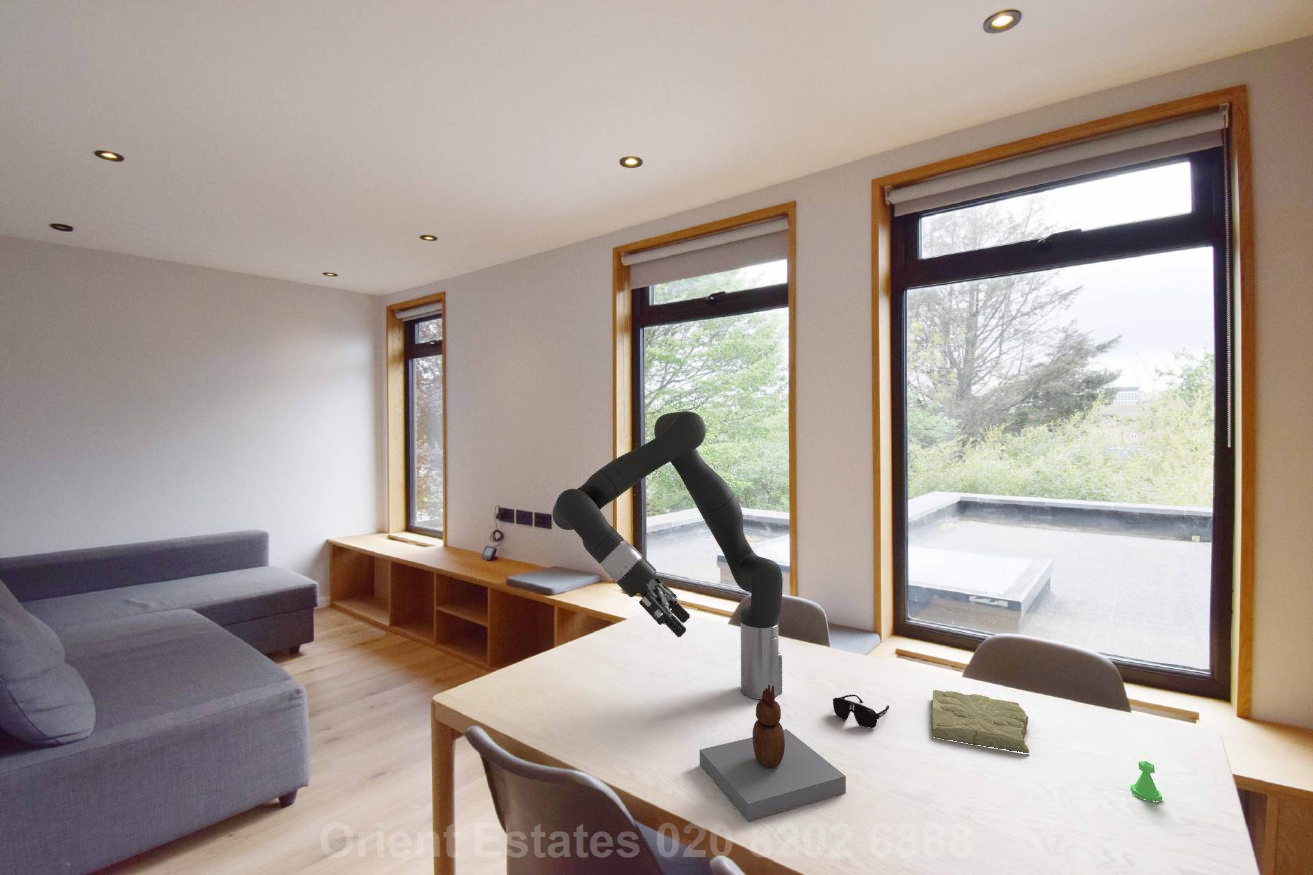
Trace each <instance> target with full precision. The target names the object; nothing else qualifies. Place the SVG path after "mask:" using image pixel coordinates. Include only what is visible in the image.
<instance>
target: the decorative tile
mask: <svg viewBox="0 0 1313 875" xmlns="http://www.w3.org/2000/svg"><path fill="white" fill-rule="evenodd" d="M931 712H932V714H931V715H932V735H933V736H934V737H935V738H934V737H933V738H934V739H936V738H941V739H944V740H943V741H946V740H953V741H957V742H963V743H968V744H973V745H972V746H974V745H981V746H986V747H994V748H998V749H1006V750H1009V751H1017V752H1018V751H1019V752H1023V753H1029V754H1030V748H1029V747H1028V744H1026V743H1025V740H1024V738H1025V739H1026V734H1025V733H1026V732H1027V733H1028V731H1027V727H1028V725H1029V724H1028V723H1029V716H1028V715H1027V714H1026V711H1025V710H1024V709H1023V708H1022V707H1021V706H1020V703H1018V702H1015V701H1008V700H1003V699H994V698H990V697H989V696H986V695H981V694H977V693H972V694H965V693H962V692H958V691H952V690H946V691H943V690H939V689H933V691H932V711H931ZM941 739H940V740H941ZM957 742H956V743H957ZM963 743H962V744H963ZM968 744H967V745H968Z"/></svg>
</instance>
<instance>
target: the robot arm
mask: <svg viewBox="0 0 1313 875" xmlns="http://www.w3.org/2000/svg"><path fill="white" fill-rule="evenodd" d="M653 431H654V438H653V439H651V440H650V441H648V442H646V443H645V444H643V445H640V446H639V447H637V448H635V449H633V450H630V451H628V452H627V453H624V454H621V455H620V456H618V457H616V458H615V459H612V460H611V461H610V462H608V463H607V464H606V465H604V466H603V467H601V468H600V469H598V470H597V471H595V472H594V473H593V474H592V475H590V476H589V478H588V479H587V480H586V481H585V482H584V483H583V484H582V485H581V486H578V488H568V489H566V490H564V491H562V492H561V493H560V494H559V495H558V497H557V499H556V501H555V503H554V506H553V507H552V508H553V509H552V520H553V523H554V524H555V525H556V526H557V527H558V528H560V529H562V530H564V531H572V530H573V531H575V533H576V534H577V535H578V536H579V537H580V539H581V541H582V545H583V547H584V548H585V550H586V551H587V552H588V554H589V555H590V556H591V557H592V559H594V560H595V561H596V562H597V563H598V565H599V566H601V567H602V569H603V570H604V571H605V573H606V574H607V575H608V576H609V577H610V578H611V579H612V580H613V581H614V582H615V584H616V585H617V586H618V587H620V589H622V591H623V592H624V593H625V594H626V595H627V596H628V597H629V598H634V597H635V596H636V595H637V594H638V595H640V597H641V599H640V600H639V601H638V603H639V605H640V606H641V607H642V608H643V609H644V610H645V611H646V612H647V613H648V615H649V616H651V617H652V619H653V620H654V621H655V622H656V623H657V625H659V626H661V625H665V626H667V628H668V629H669V630H670V631H671V632H672V633H673V634H674V635H675V636H676V637H677V638H681V637H682V636H683V635H684V634H685V633H686V632H687V627H686V626H685V625H683V624H685V623H686V622H687V621H688V620H689V619H690V618H691V615H690V613H689V612H688V611H687V610H686V609H685V608H684V607H683V606H682V605H681V604H680V603H679V600H678V597H677V594H676V593H675V592H674V591H672V590H671V589H670V588H669V587H668V585H667V584H665V582H663V580H661V578H659V577H658V576H656V577H655V575H656V574H657V569H656V567H654V566H653V565H652V564H651V563H650V561H648V560H647V559H646V558H645V556H643V555H642V554H641V553H640V552H639V550H638V549H637V548H635V546H633V545H632V544H631V543H629V542H628V540H626V539H625V538H624V537H623V536H622V535H621V534H620V533H619V532H618V531H617V530H616V529H615V527H613V526H612V525H611V524H610V523H609V522H608V520H607V519H606V517H605V515H604V513H603V512H602V509H603V508H604V507H605V506H607V505H608V504H610V503H611V502H612V501H614V500H616V499H617V498H618V497H620V496H621V495H623V494H624V493H626V491H628V490H630V489H632V488H633V487H634V486H635V485H636V484H638V483H639V482H640V481H642V480H643V479H645V478H646V477H648V476H650V474H652V473H653V472H655V471H657V470H658V469H660V468H661V467H663V466H665V465H666V464H668V463H670V464H671V465H672V467H674V469H675V471H676V472H677V473H678V475H679V477H680V478H681V480H682V483H683V484H684V486H685V488H686V490H687V491H688V493H689V495H690V496H691V498H692V500H693V502H694V503H695V506H696V508H697V510H698V512H699V513H700V515H701V517H702V519H703V520H704V522H705V524H706V526H707V527H708V529H709V531H710V532H711V534H712V535H713V538H714V539H715V541H716V543H717V545H718V546H719V548H720V550H721V552H722V554H723V557H724V558H725V560H726V563H727V566H728V568H729V570H730V573H731V575H732V577H733V579H734V581H735V583H736V585H737V586H738V587H739V588H740V589H742V590H743V591H745V592H747V593H750V606H746V607H744V608H742V609H741V611H740V690H741V691H740V692H741V693H742V694H743V695H744V696H746V697H748V698H752V699H754V700H755V699H756V700H762V694H763V691H764V690H765V688H767V689H768V685H770V690H772V686H773V685H774V694H775V698H776V697H777V696H778V695H780V694H782V693H783V655H782V653H780V652H779V650H780V649H779V646H780V645H779V618H780V615H781V611H782V604H783V588H784V586H783V584H784V582H783V581H784V578H783V573H782V569H781V567H780V565H779V563H777V562H776V561H774V560H773V559H768V558H766V557H763V556H760V555H757V554H756V552H755V551H754V550H753V549H752V547H751V545H750V543H749V541H748V540H747V537H746V536H745V532H744V516H743V515H744V514H743V510H742V507H741V505H740V503H739V500H738V499H737V497H736V495H735V494H734V492H733V490H732V488H731V487H730V486H729V484H728V483H727V482H726V481H725V480H724V478H722V477H721V476H720V475H719V473H717V472H716V471H715V470H714V469H713V468H712V467H711V466H710V465H709V464H708V463H707V462H706V461H705V460H704V459H703V458H702V456H701V455H700V453H699V451H698V449H697V448H699V447H700V446H701V445H702V444H703V442H704V441H705V438H706V434H707V427H706V424H705V420H704V419H703V418H702V417H701V416H700V415H699V414H698V413H696V412H693V411H688V410H687V411H686V410H683V411H675V412H668V413H665V414H662V415H660V416H659V417H658V418H657V420H656V421H655V423H654V430H653ZM654 577H655V578H654ZM653 578H654V579H653Z"/></svg>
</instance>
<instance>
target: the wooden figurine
mask: <svg viewBox="0 0 1313 875" xmlns="http://www.w3.org/2000/svg"><path fill="white" fill-rule="evenodd" d="M755 717H756V719H757V720H755V723H754V725H753V728H752V737H753V748H754V752H755V756H756V759H757V761H758V762H759V763H760V764H761V765H763V766H765V767H771V768H773V767H776V766H778V765H779V764H780V763H781V761H782V758H783V755H784V750H785V737H784V731H783V730H784V728H783V726H782V724H781V722H780V721H781V718H782V709H781V706H780V704H779V703H778V701H776V697H775V694H774V685H773V686H772V690H770V685H768V689H767V688H765V690H764V691H763V694H762V699H759V700H758V702H757V703H756V705H755Z"/></svg>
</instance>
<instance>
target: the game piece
mask: <svg viewBox="0 0 1313 875" xmlns="http://www.w3.org/2000/svg"><path fill="white" fill-rule="evenodd" d="M1137 763H1138V770H1140V771H1142V772H1141V774H1140V775H1139V777H1138V779H1137V781H1136V782H1135V783H1134V784H1130V791H1131V790H1132V791H1131V793H1132V792H1133V793H1132V795H1133V794H1135V795H1137V796H1138V797H1137V796H1136V797H1137V798H1139V797H1140V798H1139V799H1141V798H1142V799H1141V800H1143V799H1146V800H1149V801H1148V802H1150V801H1155V802H1156V801H1160V802H1162V801H1163V795H1162V793H1161V792H1160V790H1158V789H1157V786H1156V784H1155V782H1154V780H1153V778H1152V774H1154V773H1156V770H1155V765H1154V764H1152V763H1151V762H1149V761H1147V760H1145V761H1143V760H1142V761H1141V760H1140V761H1138V762H1137ZM1135 795H1134V796H1135ZM1146 800H1145V801H1146ZM1161 800H1162V801H1161ZM1155 802H1154V803H1155ZM1156 803H1157V802H1156Z"/></svg>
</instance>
